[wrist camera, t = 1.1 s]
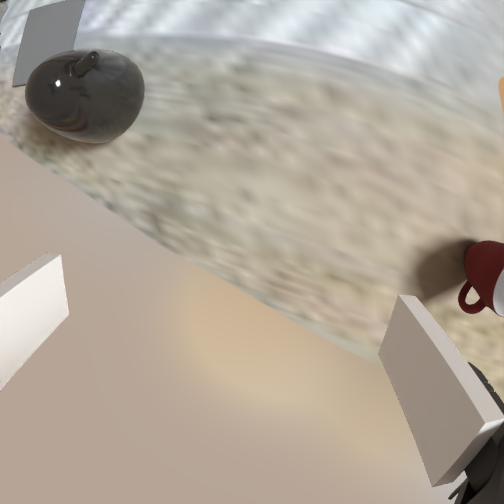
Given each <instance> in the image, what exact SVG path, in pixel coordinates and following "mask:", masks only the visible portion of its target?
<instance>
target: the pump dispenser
mask: <svg viewBox="0 0 504 504" xmlns="http://www.w3.org/2000/svg"><path fill="white" fill-rule="evenodd" d="M25 100H26V104H27V106H28V108H29V110H30V112H31V113H32V115H33V116H34V117H35V118H36V119H37V120H38V121H39V122H40V123H41V124H42V125H43V126H45V127H46V128H48V129H49V130H51V131H53V132H55V133H56V134H58V135H61V136H63V137H66V138H68V139H72V140H75V141H79V142H84V143H104V142H108V141H111V140H113V139H115V138H117V137H119V136H120V135H122V134H123V133H124V132H125V131H126V130H127V129H128V128H129V127H130V126H131V125H132V124H133V123H134V121H135V120H136V118H137V117H138V115H139V113H140V111H141V108H142V105H143V101H144V80H143V77H142V74H141V72H140V70H139V68H138V66H137V65H136V64H135V63H134V62H133V61H132V60H131V59H129V58H128V57H126V56H124V55H122V54H120V53H117V52H113V51H109V50H103V49H77V50H70V51H65V52H62V53H59V54H56V55H54V56H51V57H50V58H48V59H46V60H45V61H43V62H42V63H40V64H39V65H38V66H37V67H36V68H35V69H34V70H33V72H32V73H31V75H30V76H29V78H28V81H27V83H26V87H25Z"/></svg>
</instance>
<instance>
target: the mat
mask: <svg viewBox="0 0 504 504" xmlns="http://www.w3.org/2000/svg"><path fill="white" fill-rule="evenodd" d="M84 3H85V0H66V1H62V2H58V3H54V4H50V5H46V6H43V7H39V8H36V9H33V10H30V12H29V15H28V18H27V22H26V25H25V29H24V33H23V37H22V41H21V45H20V49H19V53H18V58H17V63H16V68H15V73H14V79H13V85H12V86H20V85H26V83H27V81H28V78H29V76H30V75H31V73H32V72H33V70H34V69H35V68H36V67H37V66H38V65H39V64H40V63H42V62H43V61H45V60H46V59H48V58H50V57H51V56H54V55H56V54H59V53H62V52H65V51H70V50H73V45H74V41H75V37H76V33H77V29H78V25H79V21H80V17H81V14H82V10H83V7H84Z"/></svg>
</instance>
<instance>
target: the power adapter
mask: <svg viewBox="0 0 504 504" xmlns="http://www.w3.org/2000/svg"><path fill="white" fill-rule="evenodd" d="M7 9H8V5H6V4H3V3H1V2H0V21H1V19H2V17H3V16H4V14H5V12H6V11H7Z"/></svg>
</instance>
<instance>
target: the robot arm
mask: <svg viewBox="0 0 504 504" xmlns="http://www.w3.org/2000/svg"><path fill="white" fill-rule="evenodd" d="M68 315H69V310H68V304H67V298H66V291H65V284H64V277H63V269H62V261H61V255H60V254H53V253H45V254H44V255H42V256H40V257H39V258H37V259H36V260H34V261H33V262H31V263H29V264H28V265H26V266H25V267H23V268H22V269H20V270H19V271H17V272H16V273H15V274H13V275H11V276H10V277H9V278H7V279H5V280H4V281H3V282H1V283H0V390H1V389H2V388H3V387H4V385H5V384H6V383H7V382H8V381H9V380H10V378H11V377H12V376H13V375H14V374H15V373H16V372H17V370H18V369H19V368H20V367H21V366H22V365H23V364H24V362H25V361H26V360H27V359H28V358H29V357H30V356H31V355H32V354H33V352H34V351H35V350H36V349H37V348H38V347H39V346H40V345H41V344H42V343H43V341H44V340H45V339H46V338H47V337H48V336H49V335H50V334H51V333H52V332H53V331H54V330H55V329H56V328H57V327H58V325H59V324H60V323H61V322H62V321H63V320H64V319H65V318H66V317H67V316H68ZM378 354H379V356H380V359H381V361H382V363H383V365H384V367H385V370H386V372H387V374H388V376H389V379H390V381H391V383H392V386H393V388H394V390H395V392H396V395H397V397H398V400H399V402H400V404H401V407H402V409H403V412H404V414H405V417H406V419H407V422H408V424H409V427H410V429H411V431H412V434H413V437H414V439H415V441H416V444H417V447H418V449H419V452H420V455H421V457H422V460H423V463H424V466H425V468H426V471H427V474H428V477H429V479H430V482H431V485H432V487H435V486H439V485H443V484H447V483H451V482H453V481H454V480H455V479H456V478H457V477H458V476H459V475H460V474H461V473H462V472H463V471H465V473H466V475H467V478H466V479H465V481H464V482H463V483H462V484H461V485H460V486H459V487H458V488H457V489H456V490H455V491H454V492H453V493H452V494H451V495H450V496H449V498H448V499H450V500H451V499H452V498H453V497H454V496H455V495H456V494H457V493H458V496H457V498H456V500H455V503H454V504H504V403H503V402H502V400H501V399H500V397H499V396H498V395H497V393H496V392H494V389H493V387H492V386H491V385H490V384H488V380H487V379H486V378H485V376H484V375H483V374H482V372H481V371H480V370H479V369H477V368H476V367H475V366H474V365H472V364H471V363H470V362H467V361H466V360H465V358H464V357H463V356H462V354H461V353H460V352H459V350H458V349H457V348H456V346H455V345H454V344H453V343H452V341H451V340H450V339H449V337H448V336H447V335H446V333H445V332H444V331H443V330H442V328H441V327H440V326H439V325H438V323H437V322H436V321H435V319H434V318H433V317H432V316H431V315H430V313H429V312H428V311H427V310H426V308H425V307H424V306H423V305H422V303H421V302H420V301H419V300H418V299H417V297H416V296H411V295H398V297H397V300H396V304H395V307H394V310H393V313H392V316H391V319H390V322H389V325H388V328H387V331H386V334H385V337H384V340H383V342H382V345H381V348H380V351H379V353H378Z"/></svg>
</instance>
